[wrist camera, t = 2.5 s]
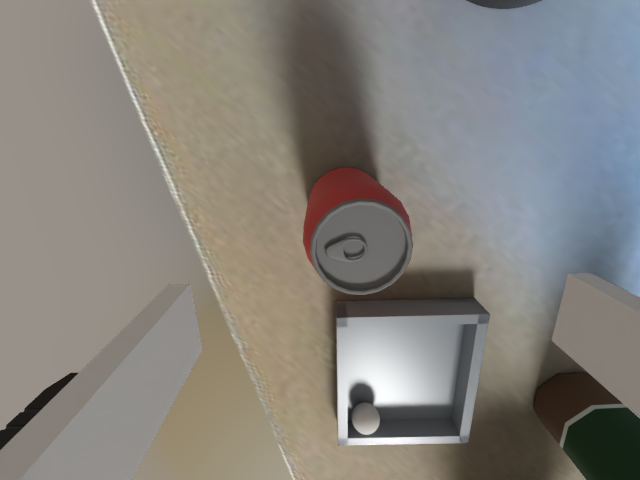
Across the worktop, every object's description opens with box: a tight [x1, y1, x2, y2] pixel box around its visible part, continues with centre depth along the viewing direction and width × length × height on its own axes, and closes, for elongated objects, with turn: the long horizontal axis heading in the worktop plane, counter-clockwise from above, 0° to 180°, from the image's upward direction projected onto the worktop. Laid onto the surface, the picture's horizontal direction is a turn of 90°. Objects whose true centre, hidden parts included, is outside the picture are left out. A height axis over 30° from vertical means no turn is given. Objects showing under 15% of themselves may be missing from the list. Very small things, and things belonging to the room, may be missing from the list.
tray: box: [335, 298, 490, 445], centre depth 32 cm, size 16×14×3 cm
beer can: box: [303, 167, 413, 295], centre depth 22 cm, size 7×7×12 cm
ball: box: [352, 402, 380, 435], centre depth 33 cm, size 3×3×3 cm
